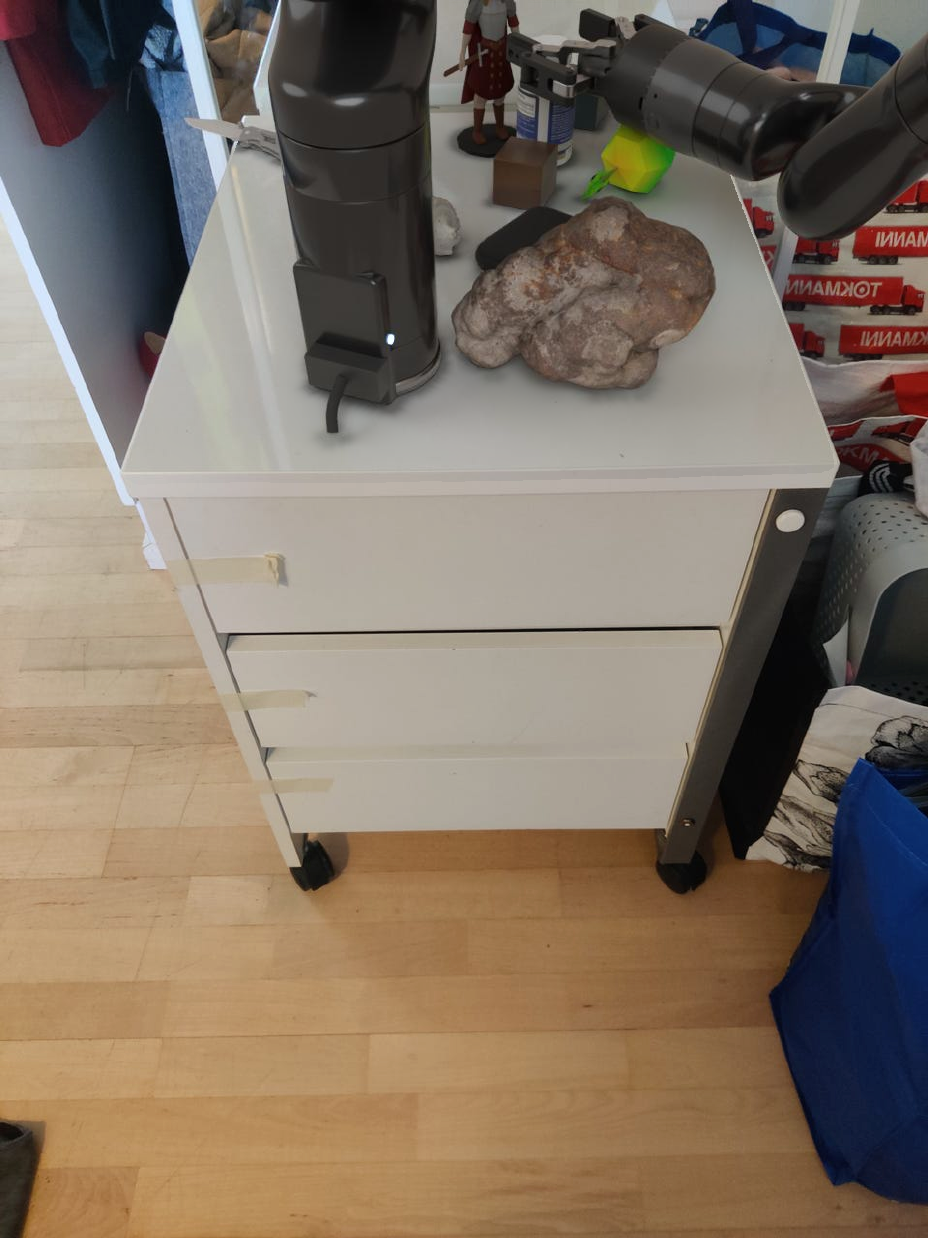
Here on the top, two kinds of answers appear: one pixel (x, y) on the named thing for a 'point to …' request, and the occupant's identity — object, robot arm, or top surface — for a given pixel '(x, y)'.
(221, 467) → the top surface
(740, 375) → the top surface
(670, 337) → the rock
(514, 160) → the walnut block
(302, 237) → the robot arm
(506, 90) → the figurine
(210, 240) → the top surface
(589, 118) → the slate block
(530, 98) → the pill bottle
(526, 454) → the top surface
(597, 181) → the apple
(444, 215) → the seashell
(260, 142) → the knife
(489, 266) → the carrying case
